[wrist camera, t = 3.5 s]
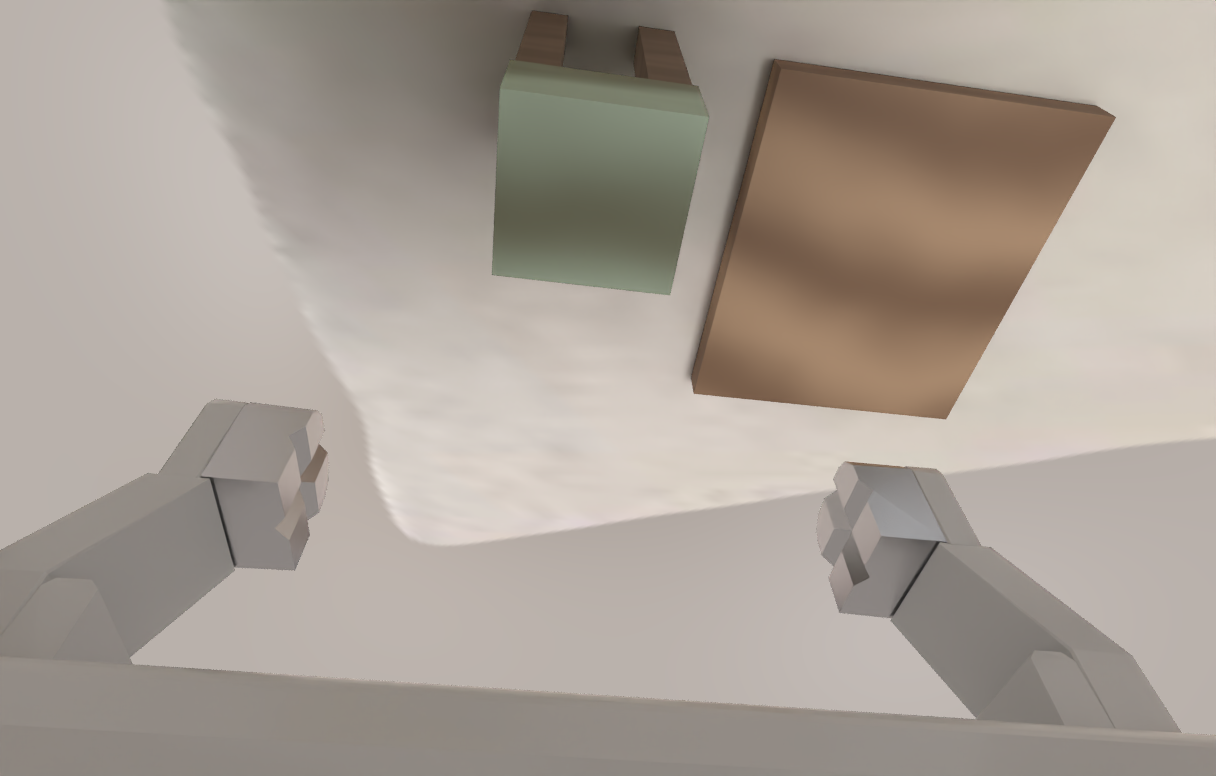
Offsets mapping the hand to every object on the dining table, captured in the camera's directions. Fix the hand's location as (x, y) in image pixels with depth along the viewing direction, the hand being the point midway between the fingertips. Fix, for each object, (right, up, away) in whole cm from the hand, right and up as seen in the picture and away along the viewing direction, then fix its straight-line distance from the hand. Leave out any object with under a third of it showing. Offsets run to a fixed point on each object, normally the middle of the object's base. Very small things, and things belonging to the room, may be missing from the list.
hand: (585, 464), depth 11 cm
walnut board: (+11, +7, +18) cm, 23 cm away
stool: (0, +12, +14) cm, 18 cm away
